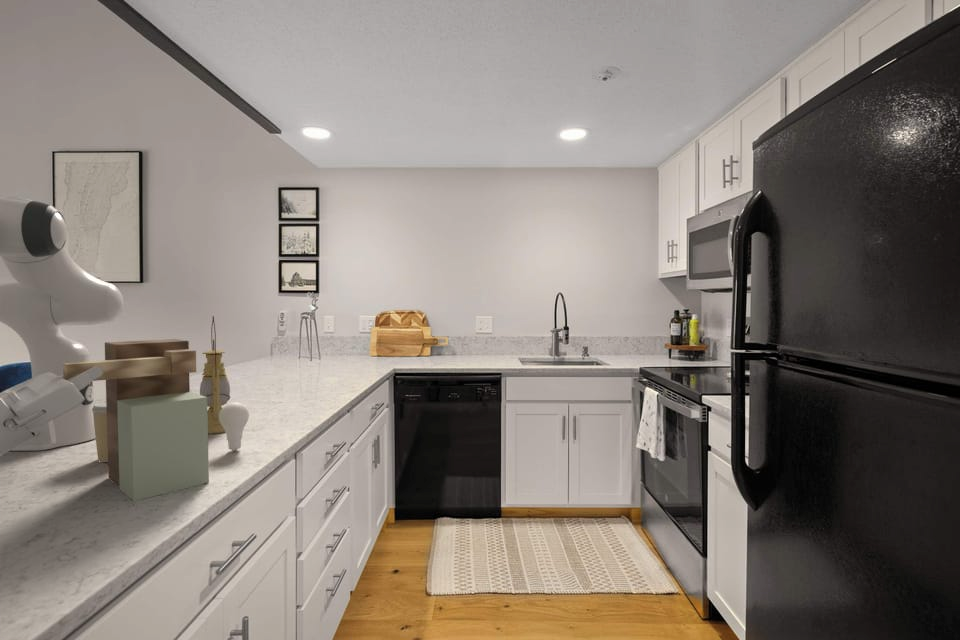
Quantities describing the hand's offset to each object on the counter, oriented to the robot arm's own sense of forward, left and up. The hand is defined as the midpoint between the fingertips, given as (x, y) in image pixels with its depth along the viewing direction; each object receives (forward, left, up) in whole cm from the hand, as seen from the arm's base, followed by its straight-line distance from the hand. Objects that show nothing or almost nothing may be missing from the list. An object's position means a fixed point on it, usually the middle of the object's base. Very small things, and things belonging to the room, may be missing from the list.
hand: (96, 368), depth 88 cm
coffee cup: (-8, +27, -23) cm, 36 cm away
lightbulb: (+15, +27, -23) cm, 38 cm away
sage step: (+8, +6, -23) cm, 25 cm away
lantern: (+5, +49, -23) cm, 54 cm away
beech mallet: (+4, +3, -2) cm, 6 cm away
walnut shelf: (+3, +13, -23) cm, 26 cm away
